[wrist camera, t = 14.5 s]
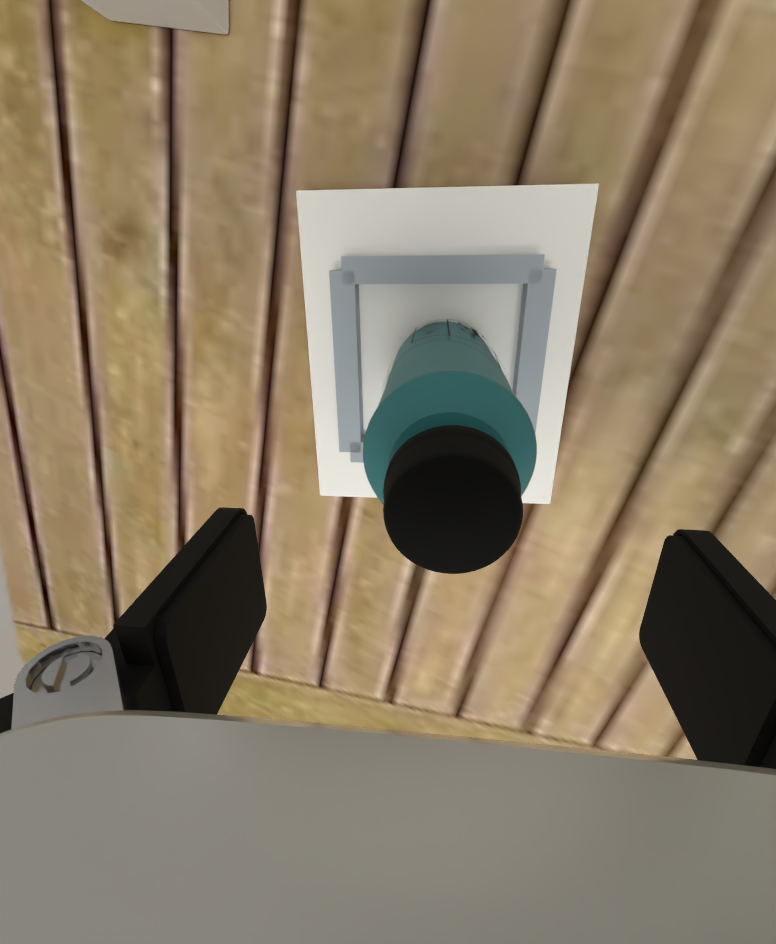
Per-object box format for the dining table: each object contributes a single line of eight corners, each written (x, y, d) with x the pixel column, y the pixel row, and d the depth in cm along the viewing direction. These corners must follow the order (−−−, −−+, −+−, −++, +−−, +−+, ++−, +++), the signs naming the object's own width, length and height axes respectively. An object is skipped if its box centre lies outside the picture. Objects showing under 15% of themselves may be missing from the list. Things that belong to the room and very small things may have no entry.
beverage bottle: (378, 390, 32) (299, 569, 14) (419, 294, 29) (388, 364, 11) (465, 429, 33) (497, 649, 14) (513, 338, 30) (629, 473, 12)
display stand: (583, 190, 29) (607, 179, 25) (541, 485, 37) (554, 514, 33) (308, 196, 30) (288, 187, 26) (328, 478, 39) (315, 504, 34)
